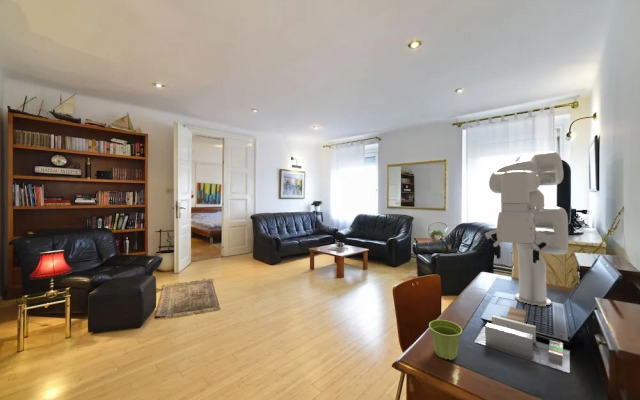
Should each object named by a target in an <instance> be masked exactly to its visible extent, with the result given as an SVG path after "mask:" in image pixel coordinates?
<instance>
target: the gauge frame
mask: <svg viewBox="0 0 640 400" xmlns="http://www.w3.org/2000/svg"><path fill="white" fill-rule="evenodd" d="M474 343H475V344H478V345H480V346H484V347H487V348H491V349H493V350H496V351H499V352H503V353H505V354H508V355H511V356H514V357H518V358H521V359H524V360H527V361H530V362H533V363H536V364H538V365H541V366H546V367H548V368H551V369H554V370H558V371H560V372H563V373H566V374H569V375H570V373H571V369H570V367H571V364H570V363H571V362H570V361H571V360H570V359H571V358H570V357H571V356H570V355H571V354H570V352H571V351H570V350H569V349H564V343H563V342H561V343H559V342H555V341H551V340H549V344H547V343H544V342H540V341H537V340H536V343H534V342H533V335H531V334H528V333H524V332H520V331H517V330H513V329H509V328H506V327H502V326H498V325H495V324H492V322H491V323H489V322H486V323H485V325H484V326H483V327H482V328H481V330H480V332H479V334H478V335H477V337H476V339H475V340H474Z"/></svg>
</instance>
